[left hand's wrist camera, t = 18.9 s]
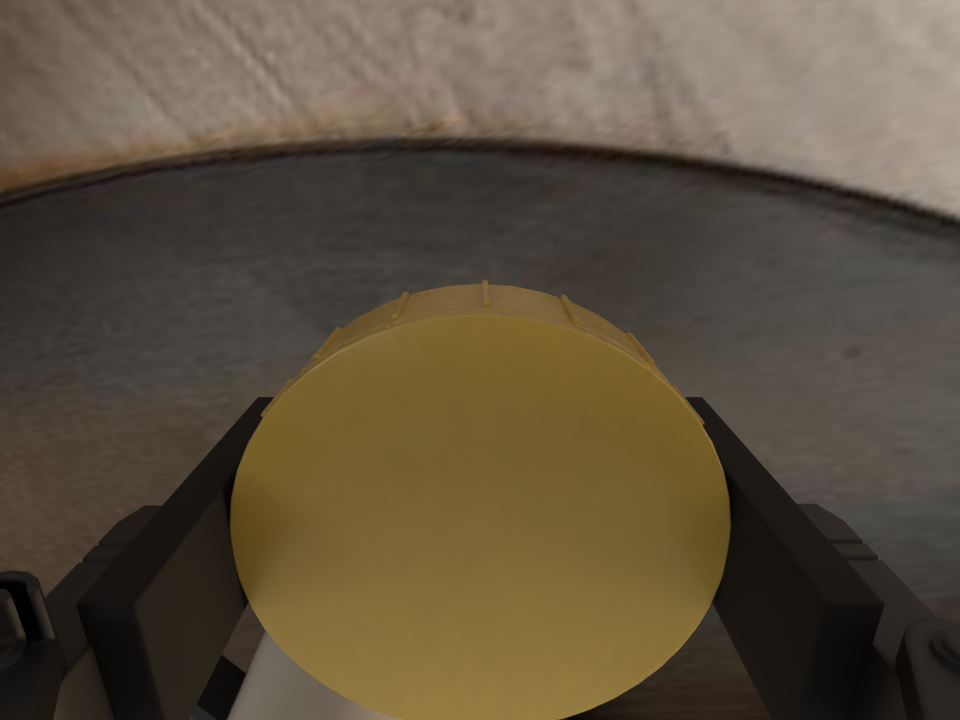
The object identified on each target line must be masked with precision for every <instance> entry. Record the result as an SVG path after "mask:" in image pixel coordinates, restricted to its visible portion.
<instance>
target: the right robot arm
mask: <svg viewBox="0 0 960 720" xmlns="http://www.w3.org/2000/svg"><path fill="white" fill-rule="evenodd" d="M245 675H246V673H244V672H243V671H242V670H241V669H239V668H238V667H237V666H236V665H234V664H233V663H232V662H230V661H229V660H228V659H227V658H225V657H224V656H223V655H221V657H220V659H219V661H218V663H217V665H216V667H215V669H214V671H213V673H212V675H211V677H210V679H209V680H208V682H207V684H206V686H205V688H204V690H203V692H202V694H201V696H200V698H199V700H198V702H197V704H196V706H195V708H194V710H193V712H192V714H191V716H192V717H193V718H194V719H196V720H226V719H227V717H228V715H229V712H230V710H231V708H232V706H233V703H234V701H235V699H236V696H237V694H238V692H239V689H240V687H241V685H242V682H243V680H244V678H245ZM560 720H567V719H566V718H564V719H560Z"/></svg>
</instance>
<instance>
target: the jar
mask: <svg viewBox="0 0 960 720" xmlns="http://www.w3.org/2000/svg"><path fill="white" fill-rule="evenodd" d="M226 720H401V719H397V718H394V717H391V716H388V715H385V714H383V713H380V712H377V711H374V710H371V709H369V708H367V707H364V706H362V705H360V704H358V703H356V702H354V701H351V700H349V699H347V698H345V697H343V696H342V695H340V694H338V693H337V692H335V691H333V690H332V689H330V688H328V687H327V686H325V685H323V684H322V683H320V682H319V681H318V680H317V679H315V678H314V677H313V676H311V675H310V674H309V673H307V672H306V671H305V670H303V669H302V668H301V667H300V666H299V665H297V664H296V663H295V662H294V661H293V660H292V659H291V658H290V657H289V656H288V655H287V654H286V653H285V652H284V651H283V650H282V649H281V648H280V647H279V646H278V644H277V643H276V642H275V641H274V639H273V638H272V637H271V636H270V634H269V633H268V632H267V631H266V629H265V631H264V634H263V636H262V638H261V641H260V643H259V645H258V648H257V650H256V652H255V655H254V657H253V659H252V661H251V664H250V666H249V668H248V671H247V673H246V675H245V678H244V680H243V682H242V685H241V687H240V689H239V692H238V694H237V696H236V699H235V701H234V703H233V706H232V708H231V710H230V712H229V715H228V717H227V719H226Z"/></svg>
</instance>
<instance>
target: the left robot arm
mask: <svg viewBox="0 0 960 720" xmlns="http://www.w3.org/2000/svg"><path fill="white" fill-rule="evenodd" d="M273 399H274V397H258V398H257V399H256V400H255V401H254V403H253V404H252V405H251V406H250V407H249V408H248V409H247V411H246V412H245V413H244V414H243V415H242V416H241V417H240V418H239V420H238V421H237V422H236V423H235V424H234V425H233V426H232V428H231V429H230V430H229V431H228V432H227V433H226V434H225V435H224V437H223V438H222V439H221V440H220V441H219V442H218V443H217V444H216V446H215V447H214V448H213V449H212V450H211V451H210V452H209V454H208V455H207V456H206V457H205V458H204V459H203V460H202V461H201V463H200V464H199V465H198V466H197V467H196V468H195V469H194V470H193V472H192V473H191V474H190V475H189V476H188V477H187V478H186V480H185V481H184V482H183V483H182V484H181V485H180V486H179V487H178V489H177V490H176V491H175V492H174V493H173V494H172V495H171V496H170V498H169V499H168V500H167V501H166V502H165V503H164V504H163V506H143V507H142V508H140V509H139V510H137V511H135V512H134V513H132V514H130V515H129V516H127V517H126V518H124V519H122V520H121V521H119V522H118V523H117V524H116V525H115V526H114V527H113V528H112V529H111V530H110V531H109V532H108V533H107V534H106V535H105V536H104V537H103V538H102V539H101V540H100V541H99V545H98V546H94V548H93V549H92V550H91V551H90V552H89V553H88V554H87V555H86V556H85V557H84V558H83V562H82V563H78V564H77V565H76V566H75V567H74V568H73V569H72V570H71V571H70V572H69V573H68V574H67V576H66V577H65V578H64V579H63V580H62V581H61V582H60V583H59V584H58V585H57V586H56V587H55V588H54V589H53V590H52V591H51V592H50V593H49V594H48V595H47V596H46V597H45V598H44V595H43V592H42V589H41V586H40V583H39V580H38V578H36V577H35V576H33V575H32V574H30V573H29V572H22V571H5V572H0V720H189V718H190V716H191V714H192V712H193V710H194V708H195V706H196V704H197V702H198V700H199V698H200V696H201V694H202V692H203V690H204V688H205V686H206V684H207V682H208V680H209V679H210V677H211V675H212V673H213V671H214V669H215V667H216V665H217V663H218V661H219V659H220V657H221V655H222V653H223V651H224V649H225V647H226V645H227V643H228V641H229V639H230V637H231V635H232V633H233V631H234V629H235V627H236V625H237V623H238V621H239V619H240V618H241V616H242V614H243V612H244V610H245V608H246V606H247V604H248V602H249V601H248V599H247V597H246V594H245V592H244V590H243V587H242V585H241V583H240V580H239V577H238V573H237V569H236V564H235V559H234V554H233V548H232V542H231V536H230V508H231V496H232V492H233V487H234V482H235V478H236V473H237V469H238V467H239V464H240V462H241V459H242V457H243V454H244V452H245V449H246V447H247V444H248V442H249V440H250V439H251V437H252V435H253V434H254V432H255V430H256V429H257V427H258V425H259V424H260V422H261V420H262V419H263V417H262V416H261V414H262V412H263V411H264V410H265V408H266V407H267V406H268V405H269V403H270V402H271V401H272V400H273ZM685 399H686V400H687V401H688V402H689V404H690V405H691V406H692V407H693V409H694V410H695V411H696V412H697V413H698V415H699V416H700V417H701V418H702V420H703V422H704V424H703V425H702V426H703V428H704V429H705V431H706V433H707V434H708V436H709V438H710V439H711V441H712V443H713V445H714V448H715V450H716V453H717V455H718V458H719V460H720V463H721V465H722V468H723V471H724V475H725V480H726V484H727V489H728V493H729V498H730V516H731V532H730V540H729V546H728V552H727V557H726V562H725V567H724V572H723V576H722V579H721V582H720V584H719V587H718V589H717V591H716V594H715V596H714V598H713V601H712V603H713V605H714V607H715V609H716V611H717V613H718V615H719V617H720V619H721V621H722V623H723V625H724V627H725V629H726V631H727V633H728V635H729V636H730V638H731V640H732V642H733V644H734V646H735V648H736V650H737V652H738V654H739V656H740V658H741V660H742V662H743V664H744V666H745V668H746V670H747V672H748V674H749V676H750V678H751V680H752V682H753V684H754V686H755V688H756V690H757V692H758V694H759V695H760V697H761V699H762V701H763V703H764V705H765V707H766V709H767V711H768V713H769V715H770V717H771V719H772V720H960V623H958V622H955V621H951V620H946V619H940V618H937V617H936V616H935V615H934V614H933V613H932V612H931V610H930V609H929V608H928V607H927V606H926V605H925V604H924V603H923V602H922V601H921V600H920V599H919V598H918V597H917V596H916V595H915V594H914V593H913V592H912V591H911V590H910V589H909V588H908V587H907V586H906V585H905V584H904V583H903V582H902V581H901V580H900V579H899V578H898V576H897V575H896V574H895V573H894V572H893V571H892V570H891V569H890V568H889V567H888V566H887V565H886V564H885V563H884V562H883V561H879V560H878V556H877V555H876V554H875V553H874V552H873V551H872V550H871V549H870V548H869V547H868V546H867V545H866V544H863V543H862V539H861V538H860V537H859V536H858V535H857V534H856V533H855V532H854V531H853V530H852V529H851V528H850V527H849V526H848V525H847V524H846V523H845V522H844V521H843V520H842V519H840V518H838V517H837V516H835V515H833V514H832V513H830V512H829V511H827V510H825V509H824V508H822V507H820V506H819V505H817V504H796V503H795V502H794V501H793V499H792V498H791V497H790V496H789V495H788V494H787V493H786V492H785V490H784V489H783V488H782V487H781V486H780V485H779V484H778V482H777V481H776V480H775V479H774V478H773V477H772V476H771V475H770V473H769V472H768V471H767V470H766V469H765V468H764V467H763V466H762V464H761V463H760V462H759V461H758V460H757V459H756V458H755V456H754V455H753V454H752V453H751V452H750V451H749V450H748V449H747V447H746V446H745V445H744V444H743V443H742V442H741V441H740V440H739V438H738V437H737V436H736V435H735V434H734V433H733V432H732V430H731V429H730V428H729V427H728V426H727V425H726V424H725V423H724V421H723V420H722V419H721V418H720V417H719V416H718V415H717V414H716V412H715V411H714V410H713V409H712V408H711V407H710V406H709V404H708V403H707V402H706V401H705V400H704V399H703V398H702V397H685Z"/></svg>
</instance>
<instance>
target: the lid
mask: <svg viewBox="0 0 960 720" xmlns="http://www.w3.org/2000/svg"><path fill="white" fill-rule="evenodd" d="M654 363H655V362H654V361H653V359H652V358H651V357H650V356H649V354H648V353H647V352H646V351H645V349H644V348H643V347H642V346H641V345H640V343H639V342H638V341H637V340H636V338H635V337H634V336H633V335H632V334H631V333H630V332H628V333H627V334H625V333H624V332H623V331H621V330H620V329H618V328H617V327H615V326H614V325H612V324H611V323H609V322H608V321H606V320H605V319H603V318H602V317H600V316H599V315H597V314H595V313H593V312H591V311H589V310H587V309H585V308H583V307H581V306H579V305H577V304H575V303H573V302H570V301H569V299H568V297H567V296H565V295H561V297H560V298H559V297H556V296H553V295H550V294H547V293H544V292H540V291H534V290H529V289H524V288H519V287H514V286H504V285H488V281H482V284H472V285H457V286H446V287H441V288H436V289H431V290H426V291H421V292H417V293H414V294H411V295H409V292H408V291H407V292H404V293H403V294H402V296H401V298H399V299H396V300H393V301H390V302H388V303H386V304H384V305H382V306H380V307H378V308H376V309H374V310H372V311H370V312H368V313H365V314H363V315H362V316H360V317H359V318H357V319H356V320H354V321H353V322H351V323H350V324H348V325H347V326H345V327H344V328H342V329H341V328H340V326H338V327H337V328H335V330H334V331H333V332H332V333H331V335H330V336H329V337H328V338H327V340H326V341H325V342H324V343H323V345H322V346H321V347H320V348H319V349H318V350H317V351H316V352H315V354H314V355H313V356H312V357H311V358H310V360H309V361H308V362H307V363H306V365H305V366H304V367H303V368H302V369H301V371H300V372H299V373H298V374H297V376H296V377H295V378H294V379H291V378H290V379H289V380H288V381H287V383H286V384H285V385H284V386H283V388H282V389H281V390H280V391H279V392H278V394H277V395H276V396H275V397H274V399H273V400H272V401H271V402H270V403H269V405H268V406H267V407H266V408H265V410H264V411H263V412H262V414H261V416H262V417H263V419H262V420H261V422H260V424H259V425H258V427H257V429H256V430H255V432H254V434H253V435H252V437H251V439H250V440H249V442H248V444H247V447H246V449H245V452H244V454H243V457H242V459H241V462H240V464H239V467H238V469H237V473H236V478H235V482H234V487H233V492H232V496H231V508H230V536H231V542H232V548H233V554H234V559H235V564H236V569H237V573H238V577H239V580H240V583H241V585H242V587H243V590H244V592H245V594H246V597H247V599H248V601H249V604H250V606H251V607H252V609H253V610H254V612H255V614H256V615H257V617H258V619H259V620H260V622H261V624H262V625H263V627H264V628H265V629H266V631H267V632H268V633H269V634H270V636H271V637H272V638H273V639H274V641H275V642H276V643H277V644H278V646H279V647H280V648H281V649H282V650H283V651H284V652H285V653H286V654H287V655H288V656H289V657H290V658H291V659H292V660H293V661H294V662H295V663H296V664H297V665H299V666H300V667H301V668H302V669H303V670H305V671H306V672H307V673H309V674H310V675H311V676H313V677H314V678H315V679H317V680H318V681H319V682H320V683H322V684H323V685H325V686H327V687H328V688H330V689H332V690H333V691H335V692H337V693H338V694H340V695H342V696H343V697H345V698H347V699H349V700H351V701H354V702H356V703H358V704H360V705H362V706H364V707H367V708H369V709H371V710H374V711H377V712H380V713H383V714H385V715H388V716H391V717H394V718H397V719H401V720H560V719H564V718H567V717H569V716H572V715H575V714H578V713H581V712H584V711H587V710H590V709H592V708H594V707H596V706H598V705H601V704H603V703H605V702H607V701H609V700H611V699H614V698H616V697H617V696H619V695H621V694H622V693H624V692H626V691H627V690H629V689H631V688H632V687H634V686H636V685H637V684H639V683H640V682H642V681H643V680H644V679H645V678H647V677H648V676H649V675H651V674H652V673H653V672H655V671H656V670H657V669H659V668H660V667H661V666H662V665H663V664H664V663H665V662H666V661H667V660H668V659H669V658H670V657H671V656H673V655H674V654H675V653H676V652H677V651H678V650H679V649H680V648H681V646H682V645H683V644H684V643H685V641H686V640H687V639H688V638H689V636H690V635H691V634H692V633H693V632H694V630H695V629H696V628H697V626H698V625H699V623H700V621H701V620H702V618H703V616H704V615H705V613H706V612H707V610H708V608H709V607H710V605H711V603H712V601H713V598H714V596H715V594H716V591H717V589H718V587H719V584H720V582H721V579H722V576H723V572H724V567H725V562H726V557H727V552H728V546H729V540H730V532H731V516H730V498H729V493H728V489H727V484H726V480H725V475H724V471H723V468H722V465H721V463H720V460H719V458H718V455H717V453H716V450H715V448H714V445H713V443H712V441H711V439H710V438H709V436H708V434H707V433H706V431H705V429H704V428H703V426H702V425H703V424H704V422H703V420H702V418H701V417H700V416H699V415H698V413H697V412H696V411H695V410H694V409H693V407H692V406H691V405H690V404H689V402H688V401H687V400H686V399H685V397H684V396H683V395H682V394H681V393H680V391H679V390H678V389H677V388H676V386H675V385H674V386H672V385H671V384H670V382H669V381H668V380H667V379H666V377H665V376H664V375H663V374H662V372H661V371H660V370H659V369H658V367H657V366H656V365H655V364H654Z"/></svg>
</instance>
